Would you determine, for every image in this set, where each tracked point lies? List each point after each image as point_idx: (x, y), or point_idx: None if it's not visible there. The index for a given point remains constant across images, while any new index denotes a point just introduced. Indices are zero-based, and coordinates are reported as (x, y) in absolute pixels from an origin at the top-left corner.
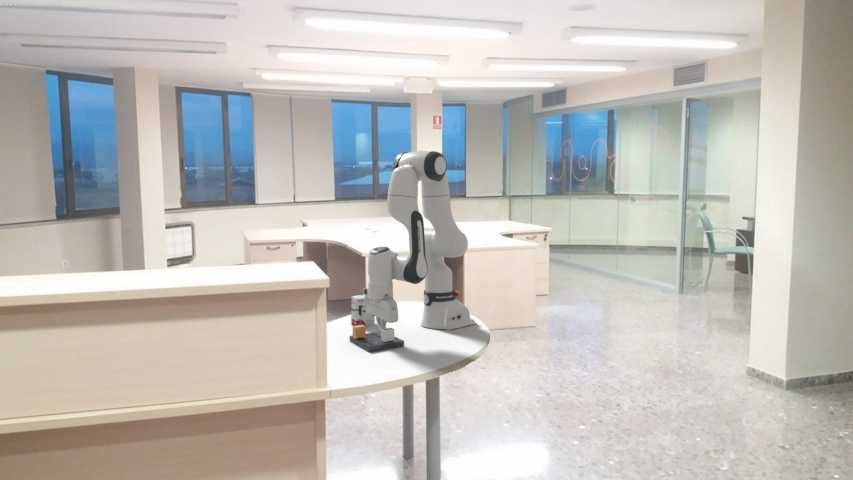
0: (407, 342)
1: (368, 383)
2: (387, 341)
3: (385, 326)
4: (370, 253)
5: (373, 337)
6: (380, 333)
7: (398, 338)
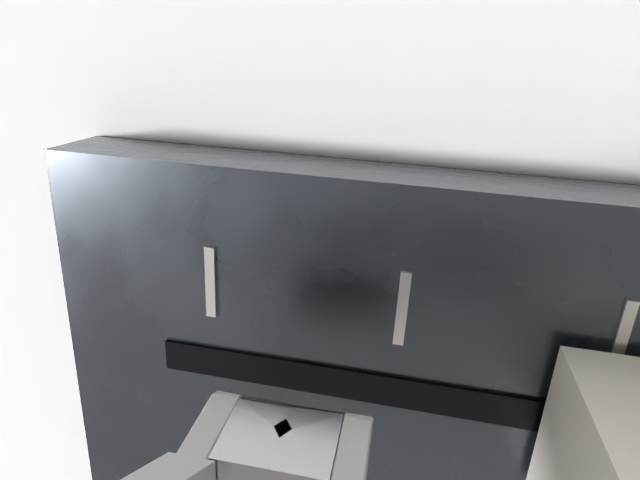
0: (613, 2)
1: None
2: None
3: (365, 461)
4: None
5: None
6: (154, 266)
7: (602, 210)
